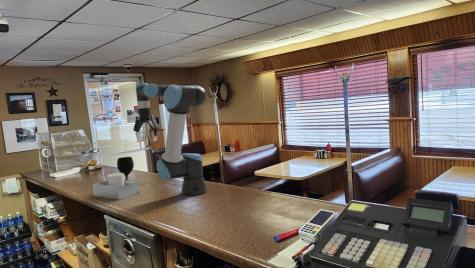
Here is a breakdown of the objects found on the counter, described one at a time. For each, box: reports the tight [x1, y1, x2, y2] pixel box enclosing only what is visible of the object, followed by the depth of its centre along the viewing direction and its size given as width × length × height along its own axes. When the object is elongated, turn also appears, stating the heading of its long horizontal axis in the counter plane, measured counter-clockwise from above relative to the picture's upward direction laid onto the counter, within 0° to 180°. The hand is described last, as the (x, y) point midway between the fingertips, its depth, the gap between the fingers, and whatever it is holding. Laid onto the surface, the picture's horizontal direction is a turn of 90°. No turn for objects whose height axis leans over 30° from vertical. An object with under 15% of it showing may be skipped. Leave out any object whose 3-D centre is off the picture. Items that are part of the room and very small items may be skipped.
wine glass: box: [116, 156, 135, 180], centre depth 217 cm, size 10×10×20 cm
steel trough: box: [92, 179, 141, 201], centre depth 198 cm, size 24×15×8 cm, turn 57°
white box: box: [106, 172, 125, 187], centre depth 198 cm, size 10×10×12 cm
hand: (147, 141), depth 206 cm, fingers open, 13 cm apart
